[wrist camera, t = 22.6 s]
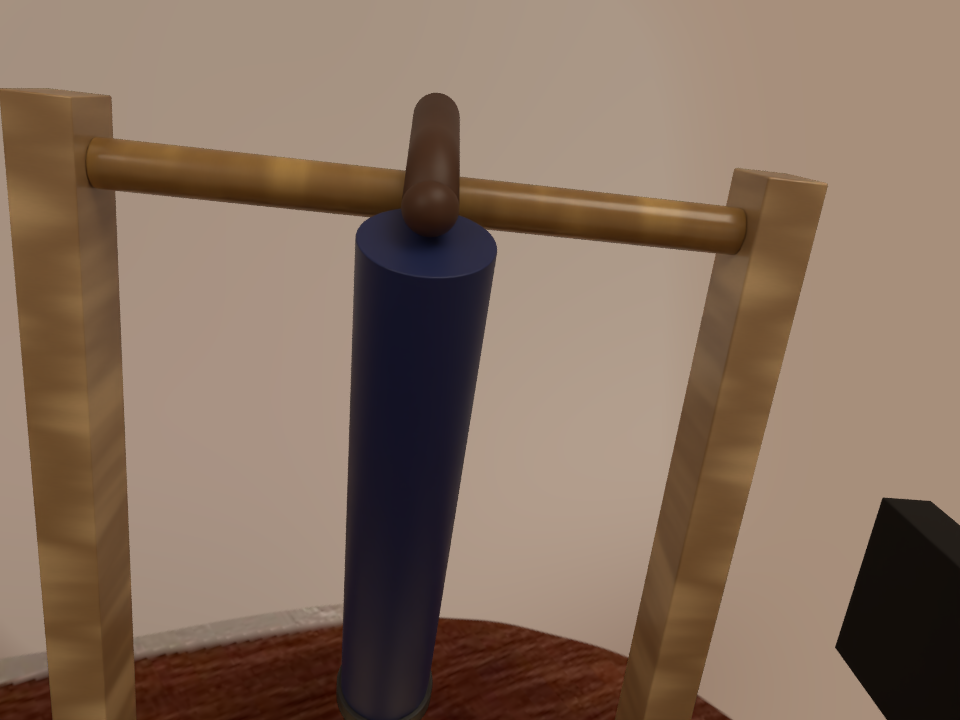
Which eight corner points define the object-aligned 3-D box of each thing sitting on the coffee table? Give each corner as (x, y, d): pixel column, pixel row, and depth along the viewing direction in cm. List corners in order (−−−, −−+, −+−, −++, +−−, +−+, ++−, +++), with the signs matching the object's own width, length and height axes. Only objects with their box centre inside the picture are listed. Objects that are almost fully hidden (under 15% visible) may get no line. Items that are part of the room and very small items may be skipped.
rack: (620, 782, 39) (759, 167, 29) (664, 946, 32) (872, 193, 22) (116, 763, 37) (81, 88, 27) (35, 935, 30) (-55, 88, 20)
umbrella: (429, 740, 35) (518, 227, 19) (330, 736, 34) (339, 208, 19) (434, 559, 42) (501, 94, 27) (354, 554, 42) (375, 79, 27)
